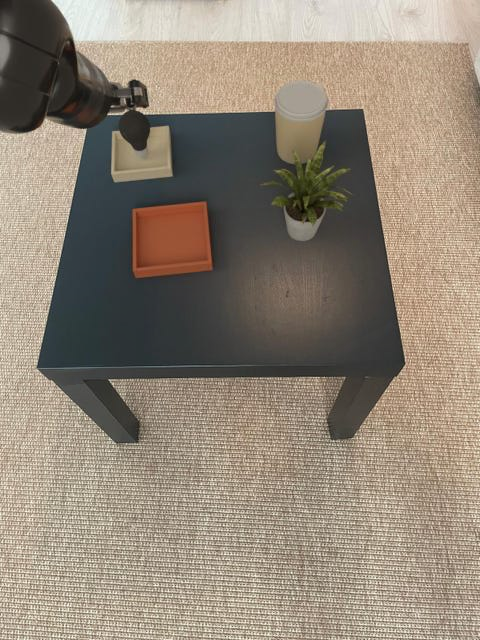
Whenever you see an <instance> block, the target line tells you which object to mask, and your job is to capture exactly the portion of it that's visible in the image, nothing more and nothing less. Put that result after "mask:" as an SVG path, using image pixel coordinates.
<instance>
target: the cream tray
mask: <svg viewBox="0 0 480 640" xmlns="http://www.w3.org/2000/svg"><path fill="white" fill-rule="evenodd" d="M170 129H171V128H170V125H163V126H162V125H161V126H152V127H151V126H150V134H149V137H148V139H147V149H148V155H147V156H146V157H145V158H138V157H137V156H136V154H135V151H134V149H133V147H132V146H131V144H130V143H128V142H127V141H126V140H125V139H124V138H123V137H122V136H121V134H120V131H119V130H113V131H111V163H110V164H111V166H110V169H111V170H110V172H111V173H110V175H111V177H112V179H113V183H123V182H124V183H125V182H131V181H133V182H134V181H141V180H142V181H143V180H152V179H153V180H155V179H162V178H171V177H172V178H173V177H174V174H173V172H174V171H173V170H174V169H173V153H172V136H171V130H170Z"/></svg>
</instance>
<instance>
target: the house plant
mask: <svg viewBox="0 0 480 640" xmlns="http://www.w3.org/2000/svg"><path fill="white" fill-rule="evenodd" d="M326 141H327V140H324V141H323V142H322V143H321V144H320V145H319V146H318V147H317V151H316V153H315V156H314V157H313V159H311V156H310V158H309V160H308V162H306V167H305V171H304V168H303V164H301V161H300V159H299V157H298V155H297V154H296V153H295V152H294V150H293V149H292V152H293V155H294V161H295V164H294V165H295V168H296V173H297V176H296V175H295V174H294V173H293V172H292V171H291V170H288V169H286V168H280V169H273V171H274V172H275V173H276V174H277V175H279V176H280V178H281V179H282V180H284V181H285V182H286V184H288V186H289V187H290V189H289V188H288V187H287V186H286V185H284V184H283V183H281V182H279V181H275V180H271V181H268V182H263V183H262V184H259V185H258V187H259V186H268V185H278V186H281V187H283V188H285V189H287V190H288V191H289V192H291V191H292V192H291V193H290V194H289V195H287V196H284V195H276V196H275V198H274V199H273V200H272V202H271V204H270V206H273V207H274V206H275V207H277V208H283V213H284V218H285V225H286V231H287V234H288V235H289V237H290V238H292V239H293V240H294V241H298V242H306V241H310V240H311V239H313V238H314V237H315V236H316V234H317V232H318V229H319V227H320V225H321V223H322V220H323V218H324V216H325V214H326V212H327V209H331V210H339V211H343V209H342V208H346V206H345V205H343V203H341V202H340V201H345V202H346V203H348V199H349V200H350V198H349V197H348V196H346V195H344V194H343V193H342V192H341V191H335V190H329V189H332V188H336V189H337V188H338V189H340V190H343V191H344V192H346V193H347V194H349V195H352V196H353V197H358V196H356V195H355V194H353V193H352V192H350V191H349V190H347V188H344V187H342V186H340V185H337V184H331V183H333V182H335V181H336V180H337V179H338V178H339V177H340V176H341V175H343V174H345V173H347V172H349V171H351V170H352V168H350V167H349V168H341V169H337V170H336V171H335V170H334V172H332V173H330V174H329V175H327V174H328V173H329V172H331V170H333V168H334V167H335V165H336V164H335V165H331V166H330V167H328V168H326V169H325V170H322V171H320V169H321V167H322V164H323V161H324V151H325V148H326V143H327V142H326ZM326 175H327V176H326ZM324 198H332V199H326V200H325V199H324ZM334 199H335V200H334ZM337 200H338V201H337Z"/></svg>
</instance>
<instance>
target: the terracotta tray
mask: <svg viewBox="0 0 480 640" xmlns="http://www.w3.org/2000/svg"><path fill="white" fill-rule="evenodd" d="M207 203H208V202H207V201H206V200H205V201H197V202H196V201H195V202H187V203H186V202H185V203H177V204H166V205H158V206H148V207H147V206H146V207H139V208H137V207H136V208H132V272H133V275H134V277H135V279H142V278H151V277H161V276H170V275H178V274H179V275H181V274H189V273H199V272H207V271H208V272H209V271H214V267H213V265H214V264H213V256H212V255H213V254H212V245H211V233H210V222H209V211H208V205H207Z"/></svg>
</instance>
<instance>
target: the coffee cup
mask: <svg viewBox="0 0 480 640" xmlns="http://www.w3.org/2000/svg"><path fill="white" fill-rule="evenodd" d="M273 103H274V104H273V105H274V114H275V115H274V118H275V119H274V120H275V141H276V152H277V155H278V158H280V159H281V160H282V161H283V162H285V163H288V164H289V165H290V164H292V165H295V161H294V155H293V152H292V149H293V150H294V152H295V153H296V154H297V155H298V157H299V159H300V161H301V164H302V165H303V164H304V165H305V164H307V163H308V160H309V158H310V156H311V160H313V158H314V156H315V153H316V152H317V150H318V148H319V144H320V138H321V134H322V130H323V125H324V121H325V117H326V113H327V109H328V106H329V98H328V95H327V92H326V91H325V89H324V88H323V87H322V86H321V85H319V84H318V83H316V82H313V81H310V80H305V79H303V80H302V79H298V80H293V81H290V82H289V81H288V82H287V83H285V84H283V85H282V86H281V87H280V88H279V89H278V90H277V92H276V94H275V96H274V100H273Z"/></svg>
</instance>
